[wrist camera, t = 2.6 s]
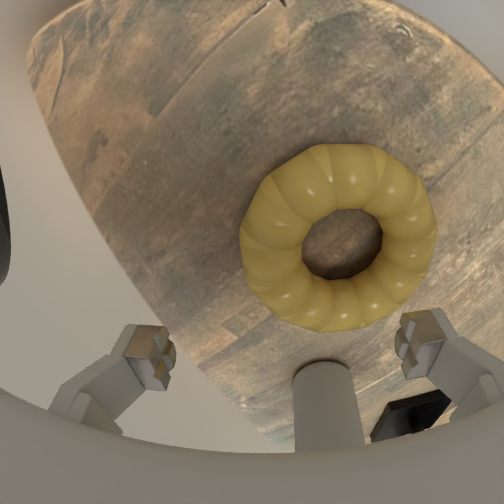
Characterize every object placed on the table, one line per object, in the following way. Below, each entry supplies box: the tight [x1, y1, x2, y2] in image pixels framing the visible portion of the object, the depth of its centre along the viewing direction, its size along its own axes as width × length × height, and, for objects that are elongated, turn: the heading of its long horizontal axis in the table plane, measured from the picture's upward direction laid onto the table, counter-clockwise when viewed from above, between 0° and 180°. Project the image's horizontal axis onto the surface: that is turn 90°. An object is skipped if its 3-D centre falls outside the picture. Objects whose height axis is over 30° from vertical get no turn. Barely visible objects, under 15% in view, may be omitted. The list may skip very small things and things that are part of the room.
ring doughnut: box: [239, 144, 437, 333], centre depth 14 cm, size 10×10×3 cm
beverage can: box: [292, 361, 365, 453], centre depth 16 cm, size 5×5×12 cm
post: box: [370, 390, 452, 443], centre depth 22 cm, size 9×9×7 cm
